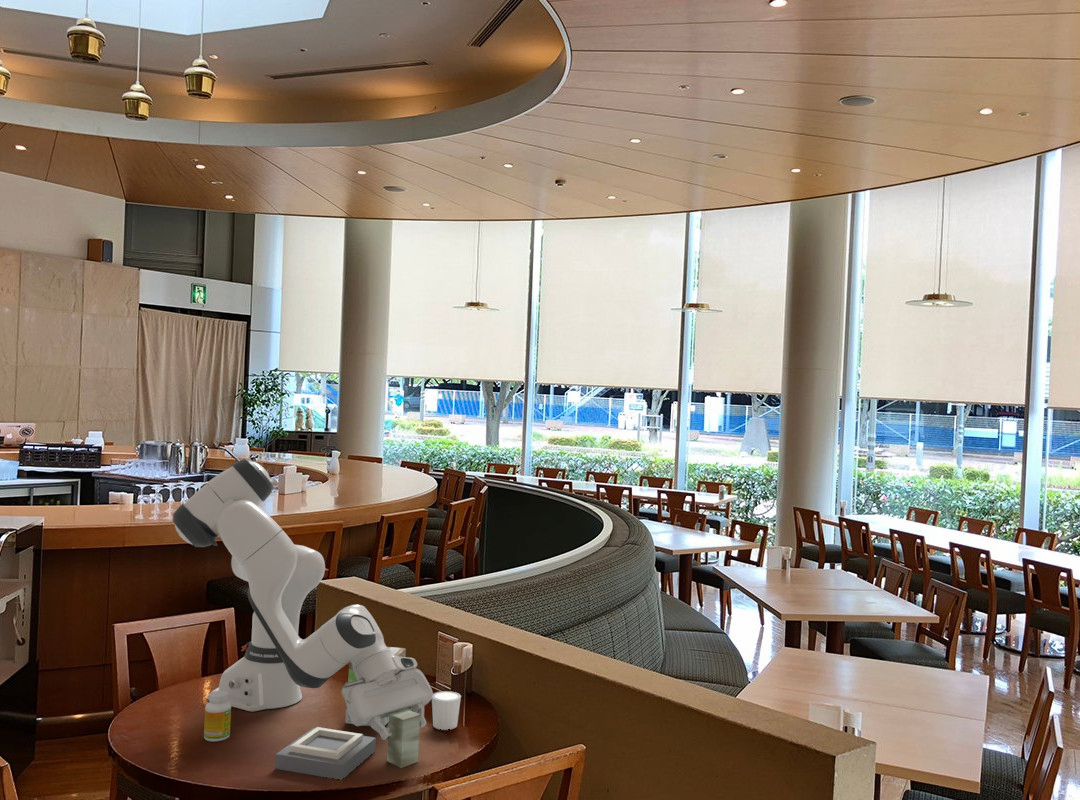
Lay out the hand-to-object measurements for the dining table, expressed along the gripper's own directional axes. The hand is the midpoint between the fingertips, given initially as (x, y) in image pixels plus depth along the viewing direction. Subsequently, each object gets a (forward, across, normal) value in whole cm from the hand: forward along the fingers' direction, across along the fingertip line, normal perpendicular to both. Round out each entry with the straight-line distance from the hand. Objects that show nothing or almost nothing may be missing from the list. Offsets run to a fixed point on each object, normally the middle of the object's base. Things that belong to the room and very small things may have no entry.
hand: (405, 731), depth 182 cm
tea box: (-13, +12, +23) cm, 29 cm away
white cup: (-2, +20, +11) cm, 23 cm away
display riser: (-4, -11, +13) cm, 17 cm away
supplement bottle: (-22, -22, +32) cm, 44 cm away
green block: (+4, 0, +5) cm, 6 cm away
